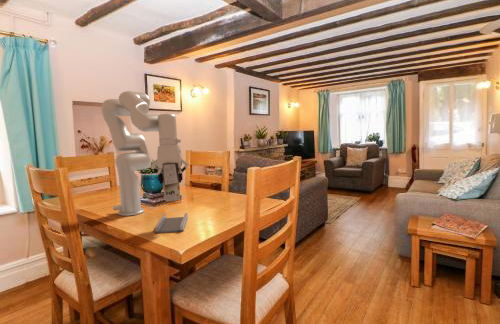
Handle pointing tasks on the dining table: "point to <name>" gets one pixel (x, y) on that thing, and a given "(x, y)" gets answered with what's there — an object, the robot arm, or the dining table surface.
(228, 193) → the dining table surface
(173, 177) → the coffee box
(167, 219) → the floor track
